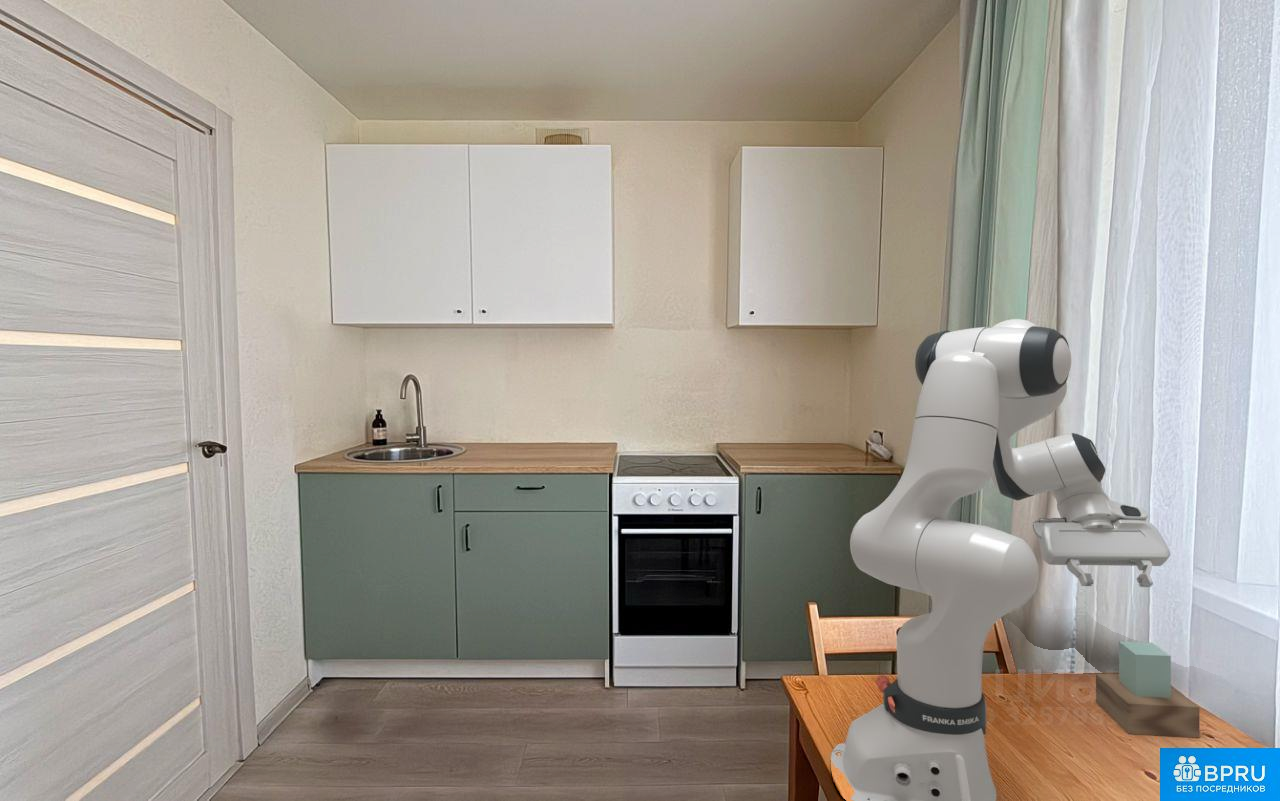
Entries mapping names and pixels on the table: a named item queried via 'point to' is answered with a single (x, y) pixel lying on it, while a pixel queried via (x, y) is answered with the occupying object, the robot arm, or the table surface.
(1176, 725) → the walnut block
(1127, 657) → the sage block
